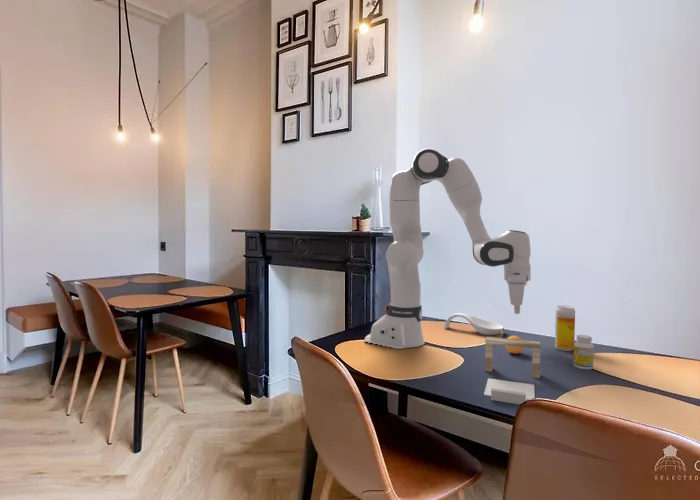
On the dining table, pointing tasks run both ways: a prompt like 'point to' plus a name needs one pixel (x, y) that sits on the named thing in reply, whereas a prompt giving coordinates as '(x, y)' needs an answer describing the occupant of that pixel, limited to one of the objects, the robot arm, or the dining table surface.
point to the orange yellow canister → (565, 328)
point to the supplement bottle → (583, 352)
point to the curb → (508, 396)
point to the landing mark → (510, 387)
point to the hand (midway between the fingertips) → (517, 313)
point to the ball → (514, 348)
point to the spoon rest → (478, 324)
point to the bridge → (512, 342)
